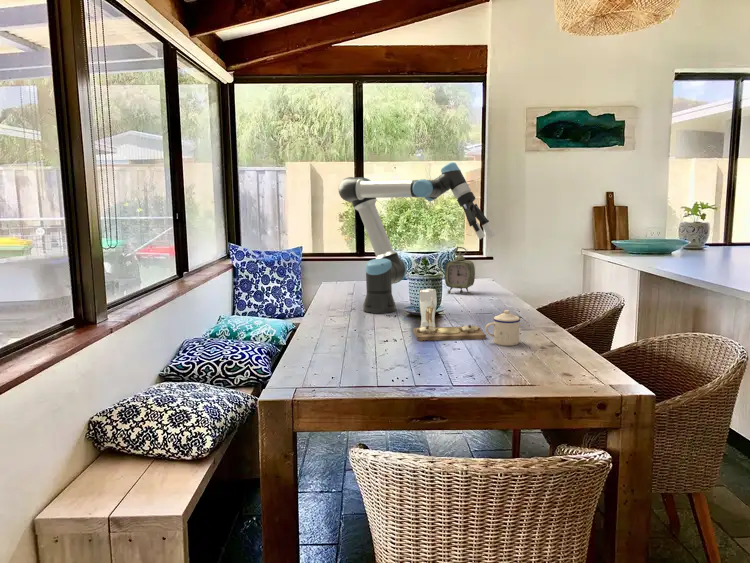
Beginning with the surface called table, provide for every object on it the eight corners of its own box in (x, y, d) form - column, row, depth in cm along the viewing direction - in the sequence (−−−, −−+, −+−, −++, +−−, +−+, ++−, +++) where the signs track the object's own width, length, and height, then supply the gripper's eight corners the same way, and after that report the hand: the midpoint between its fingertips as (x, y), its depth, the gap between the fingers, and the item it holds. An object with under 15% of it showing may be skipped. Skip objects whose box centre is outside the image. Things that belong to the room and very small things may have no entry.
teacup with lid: (515, 339, 202) (516, 307, 201) (522, 345, 193) (523, 312, 192) (482, 340, 202) (483, 308, 201) (488, 346, 193) (488, 313, 192)
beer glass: (439, 325, 226) (438, 289, 223) (433, 329, 219) (433, 292, 217) (422, 324, 228) (422, 288, 226) (416, 328, 222) (416, 291, 220)
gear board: (417, 340, 203) (417, 330, 202) (413, 331, 217) (413, 322, 216) (485, 338, 204) (485, 329, 203) (477, 329, 218) (477, 320, 217)
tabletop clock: (444, 293, 299) (444, 247, 296) (450, 291, 307) (450, 245, 303) (470, 295, 293) (470, 248, 289) (475, 292, 300) (476, 246, 297)
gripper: (461, 189, 234) (485, 233, 231) (480, 191, 255) (502, 232, 252) (446, 199, 237) (470, 242, 234) (466, 200, 259) (488, 240, 256)
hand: (487, 237), depth 243 cm, fingers open, 13 cm apart
